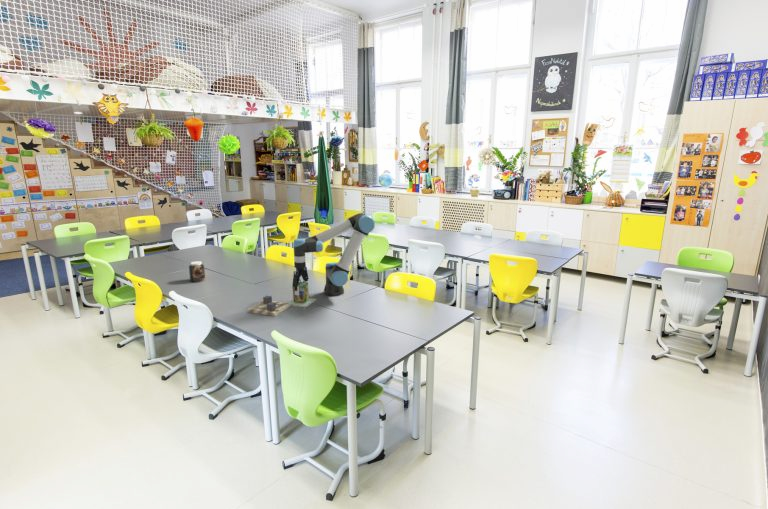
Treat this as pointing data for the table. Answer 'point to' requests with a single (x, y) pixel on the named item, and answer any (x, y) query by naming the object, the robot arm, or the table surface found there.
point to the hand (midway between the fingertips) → (301, 292)
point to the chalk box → (301, 292)
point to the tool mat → (302, 304)
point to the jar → (197, 271)
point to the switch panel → (262, 309)
